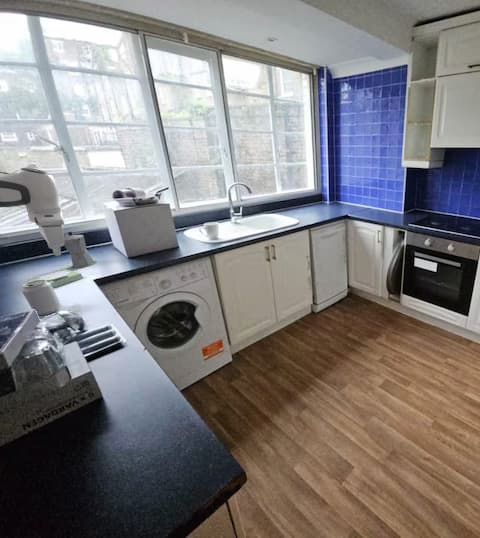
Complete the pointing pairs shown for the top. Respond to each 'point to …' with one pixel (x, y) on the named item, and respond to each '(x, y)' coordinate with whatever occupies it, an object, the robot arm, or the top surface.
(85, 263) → the coffeepot
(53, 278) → the scale
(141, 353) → the top surface
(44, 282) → the can
